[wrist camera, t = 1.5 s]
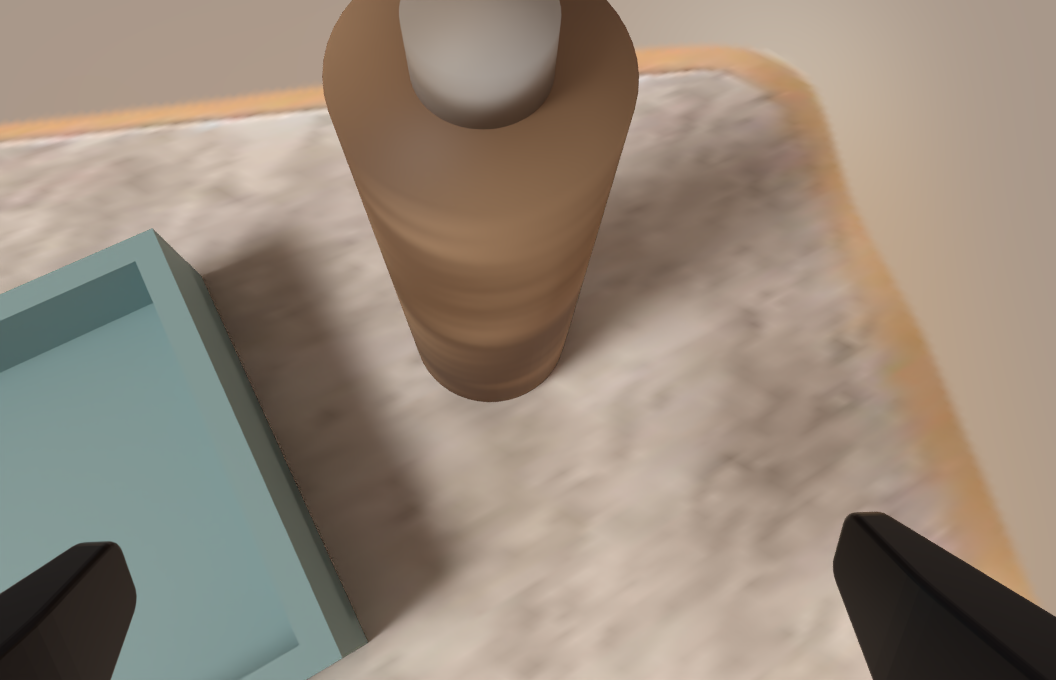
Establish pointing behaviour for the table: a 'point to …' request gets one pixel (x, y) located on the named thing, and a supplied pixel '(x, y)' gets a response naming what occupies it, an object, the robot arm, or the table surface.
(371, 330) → the table surface
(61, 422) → the tray
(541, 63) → the pepper mill
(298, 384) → the table surface
